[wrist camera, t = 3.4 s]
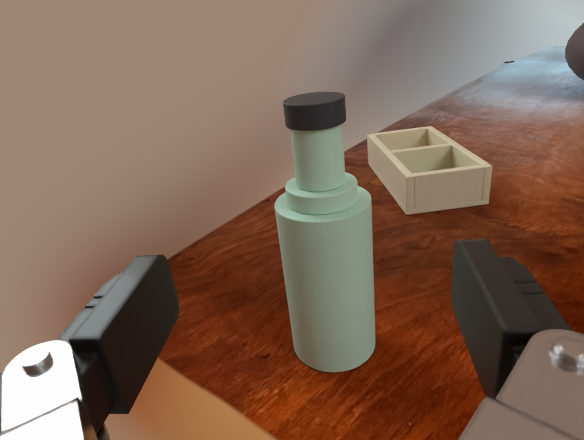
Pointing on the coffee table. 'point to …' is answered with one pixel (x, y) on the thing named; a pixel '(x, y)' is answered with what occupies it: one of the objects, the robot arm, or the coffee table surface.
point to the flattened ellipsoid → (576, 52)
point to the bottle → (326, 240)
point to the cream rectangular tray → (428, 170)
